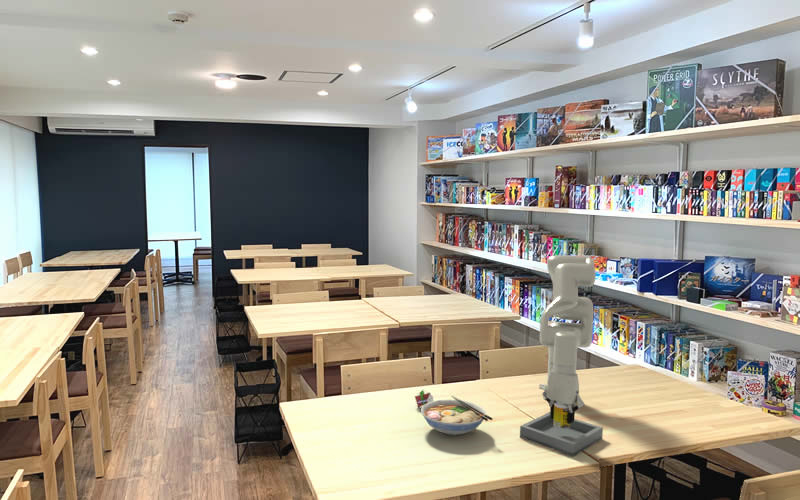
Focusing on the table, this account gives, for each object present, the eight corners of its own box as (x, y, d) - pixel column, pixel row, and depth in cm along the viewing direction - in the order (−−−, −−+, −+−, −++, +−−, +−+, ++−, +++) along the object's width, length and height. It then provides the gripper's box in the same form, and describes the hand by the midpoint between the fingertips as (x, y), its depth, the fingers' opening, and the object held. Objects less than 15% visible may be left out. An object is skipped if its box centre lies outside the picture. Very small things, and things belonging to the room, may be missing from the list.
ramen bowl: (408, 422, 210) (408, 400, 210) (463, 414, 220) (464, 393, 219) (439, 450, 188) (440, 426, 187) (500, 440, 197) (501, 416, 196)
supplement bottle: (562, 431, 195) (563, 401, 194) (549, 425, 200) (550, 396, 199) (573, 427, 198) (574, 398, 197) (560, 422, 203) (562, 393, 202)
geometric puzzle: (408, 403, 224) (420, 388, 222) (414, 397, 230) (426, 383, 228) (421, 416, 222) (434, 402, 220) (427, 410, 229) (439, 396, 226)
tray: (519, 437, 199) (520, 426, 199) (550, 422, 214) (550, 411, 213) (573, 456, 185) (573, 444, 185) (602, 438, 199) (602, 427, 199)
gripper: (536, 365, 201) (534, 415, 202) (582, 376, 188) (579, 430, 190) (547, 360, 206) (545, 410, 208) (593, 372, 194) (590, 424, 195)
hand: (561, 419), depth 199 cm, fingers closed on supplement bottle, 5 cm apart
